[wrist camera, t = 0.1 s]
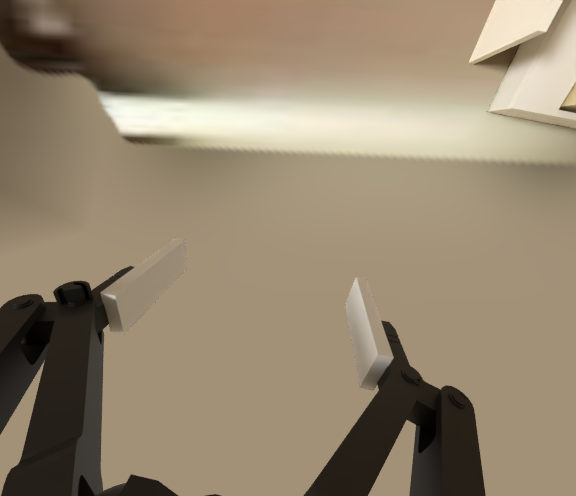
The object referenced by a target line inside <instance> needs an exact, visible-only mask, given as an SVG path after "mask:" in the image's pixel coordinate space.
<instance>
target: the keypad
mask: <svg viewBox="0 0 576 496" xmlns="http://www.w3.org/2000/svg"><path fill="white" fill-rule="evenodd" d="M575 83H576V0H563V2H562V3H561V5H560V7H559V9H558V11H557V13H556V15H555V17H554V18H553V20H552V22H551V24H550V26H549V28H548V30H547V31H546V32H545V33H543V34H541V35H538V36H536V37H534V38H532V39H529V40H527V41H525V42H523V43H521V44H520V46H519V48H518V50H517V52H516V54H515V56H514V58H513V60H512V62H511V64H510V66H509V68H508V70H507V72H506V74H505V76H504V78H503V80H502V82H501V84H500V86H499V88H498V90H497V92H496V94H495V96H494V98H493V100H492V102H491V104H490V105H489V107H488V109H487V111H486V112H491V113H496V114H501V115H507V116H512V117H517V118H522V119H528V120H533V121H538V122H543V123H548V124H554V125H559V126H564V127H569V128H575V129H576V112H570V111H565V110H560V109H559V108H560V106H561V105H562V103H563V102H564V100H565V98H566V97H567V95H568V94H569V92H570V91H571V89H572V87H573V86H574V84H575Z"/></svg>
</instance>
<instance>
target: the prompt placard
mask: <svg viewBox="0 0 576 496" xmlns="http://www.w3.org/2000/svg"><path fill="white" fill-rule="evenodd" d="M562 2H563V0H496V1H495V3H494V6H493V8H492V10H491V13H490V15H489V17H488V20H487V22H486V24H485V26H484V29H483V31H482V33H481V36H480V38H479V40H478V43H477V45H476V47H475V49H474V52H473V54H472V56H471V59H470V61H469V63H472V64H475V63H478V62H480V61H482V60H484V59H487V58H489V57H491V56H493V55H496V54H498V53H500V52H502V51H505V50H507V49H509V48H511V47H514V46H516V45H518V44H520V43H523V42H525V41H527V40H529V39H532V38H534V37H536V36H538V35H541V34H543V33H545V32H546V31H547V30H548V28H549V26H550V24H551V22H552V20H553V18H554V17H555V15H556V13H557V11H558V9H559V7H560V5H561V3H562Z"/></svg>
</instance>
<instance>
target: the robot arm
mask: <svg viewBox="0 0 576 496" xmlns="http://www.w3.org/2000/svg"><path fill="white" fill-rule="evenodd" d="M185 271H186V246H185V240H184V239H180V238H174V239H173V240H171V241H170V242H169V243H167V244H166V245H165V246H163V247H162V248H160V249H159V250H158V251H156V252H155V253H154V254H152V255H151V256H150V257H148V258H147V259H146V260H144V261H143V262H141V263H140V264H139V265H137V266H136V267H132V266H130V267H127V268H125V269H122V270H120V271H119V272H117V273H116V274H115V275H114V276H112V277H110V278H109V279H108V280H106V281H105V282H103V283H102V284H100V285H99V286H97V287H96V288H94V289H93V290H92V291H91V288H90V285H89V283H87V282H85V281H73V282H68V283H65V284H63V285H61V286H59V287H58V288H56V289H55V290H54V292H53V293H54V296H55V298H56V301H57V302H44V300H43V298H42V296H40V295H37V294H29V295H23V296H20V297H16V298H14V299H12V300H10V301H8V302H7V303H5V304H4V305H3V306H2V307H1V308H0V434H1V433H2V431H3V429H4V428H5V426H6V424H7V422H8V421H9V419H10V417H11V416H12V414H13V412H14V411H15V409H16V407H17V406H18V404H19V402H20V401H21V399H22V397H23V396H24V394H25V392H26V391H27V389H28V387H29V386H30V384H31V382H32V381H33V379H34V377H35V375H36V374H37V372H38V370H39V369H40V367H41V365H42V364H43V362H44V360H45V362H44V366H43V371H42V375H41V379H40V383H39V387H38V391H37V395H36V399H35V404H34V408H33V412H32V416H31V420H30V424H29V428H28V432H27V437H26V441H25V445H24V449H23V453H22V457H21V460H20V462H19V464H18V465H17V466H15V467H14V468H12V469H11V470H10V472H9V474H8V475H7V478H6V481H5V483H4V487H3V491H2V495H1V496H178V495H176V494H175V493H174V492H172V491H171V490H170V489H168V488H167V487H166V486H164V485H163V484H162V483H160V482H159V481H156V480H152V479H148V478H144V477H139V476H135V475H131V476H130V477H129V479H128V481H127V483H124V484H120V485H117V486H114V487H112V488H109V489H107V490H105V491H103V486H102V477H101V469H100V468H101V467H100V463H101V423H102V386H103V385H102V384H103V350H104V349H103V348H104V347H103V346H104V332H103V329H104V328H105V327H106V326H107V325H108V324H109V327H110V331H111V332H115V333H119V334H125V333H126V332H127V331H128V330H129V329H130V328H131V327H132V326H133V325H134V324H135V323H136V322H137V321H138V320H139V319H140V318H141V317H142V316H143V314H144V313H145V312H146V311H147V310H148V309H149V308H150V307H151V306H152V305H153V304H154V303H155V302H156V301H157V300H158V299H159V298H160V297H161V296H162V294H164V293H165V292H166V291H167V289H168V288H169V287H170V286H171V285H172V284H173V283H174V282H175V281H176V280H177V279H178V278H179V277H180V275H182V274H183V273H184V272H185ZM345 306H346V311H347V317H348V323H349V329H350V335H351V341H352V346H353V353H354V358H355V364H356V370H357V376H358V382H359V387H360V388H364V389H369V390H374V389H375V387H376V386H377V384H378V388H379V391H378V393H377V394H376V395H375V397H374V398H373V400H372V401H371V402H370V404H369V405H368V407H367V408H366V410H365V411H364V412H363V414H362V415H361V417H360V418H359V419H358V421H357V422H356V424H355V425H354V426H353V428H352V429H351V431H350V432H349V434H348V435H347V436H346V438H345V439H344V441H343V442H342V443H341V445H340V446H339V448H338V449H337V451H336V452H335V453H334V455H333V456H332V458H331V459H330V460H329V462H328V463H327V465H326V466H325V467H324V469H323V470H322V472H321V473H320V474H319V476H318V477H317V479H316V480H315V481H314V483H313V484H312V486H311V487H310V488H309V490H308V491H307V492H306V494H305V495H304V496H368V494H369V492H370V490H371V488H372V486H373V484H374V483H375V481H376V479H377V477H378V475H379V473H380V471H381V469H382V467H383V465H384V463H385V461H386V459H387V457H388V455H389V453H390V451H391V449H392V447H393V445H394V443H395V441H396V439H397V437H398V435H399V433H400V431H401V429H402V428H403V425H404V424H405V422H406V420H409V421H410V422H412V423H414V424H416V432H415V444H414V454H413V465H412V475H411V486H410V496H485V488H484V481H483V473H482V466H481V458H480V451H479V443H478V435H477V428H476V420H475V413H474V408H473V405H472V403H471V402H470V400H469V399H468V398H467V397H466V396H465V395H464V394H463V393H462V392H461V391H459V390H458V389H456V388H454V387H452V386H444V387H442V389H441V390H440V389H438V388H436V387H434V386H432V385H430V384H428V383H426V382H425V381H423V379H422V377H421V376H420V374H419V373H418V372H417V371H416V370H415V369H414V368H413V367H411V366H410V365H409V362H408V360H407V357H406V355H405V352H404V350H403V347H402V345H401V344H400V340H399V338H398V335H397V333H396V330H395V328H394V327H393V326H392V325H391V324H390V323H389V322H386V321H381V320H380V317H379V314H378V311H377V308H376V305H375V302H374V299H373V296H372V293H371V291H370V288H369V285H368V282H367V279H365V278H361V277H356V279H355V281H354V284H353V286H352V289H351V292H350V294H349V296H348V299H347V301H346V304H345ZM208 496H220V495H216V494H214V495H208Z"/></svg>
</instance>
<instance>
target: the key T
mask: <svg viewBox="0 0 576 496" xmlns="http://www.w3.org/2000/svg"><path fill="white" fill-rule="evenodd" d="M559 109H560V110H565V111H570V112H576V83H575V84H574V86H573V87H572V89H571V91H570V92H569V94H568V95H567V97H566V98H565V100H564V102H563V103H562V105H561V106H560V108H559Z"/></svg>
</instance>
